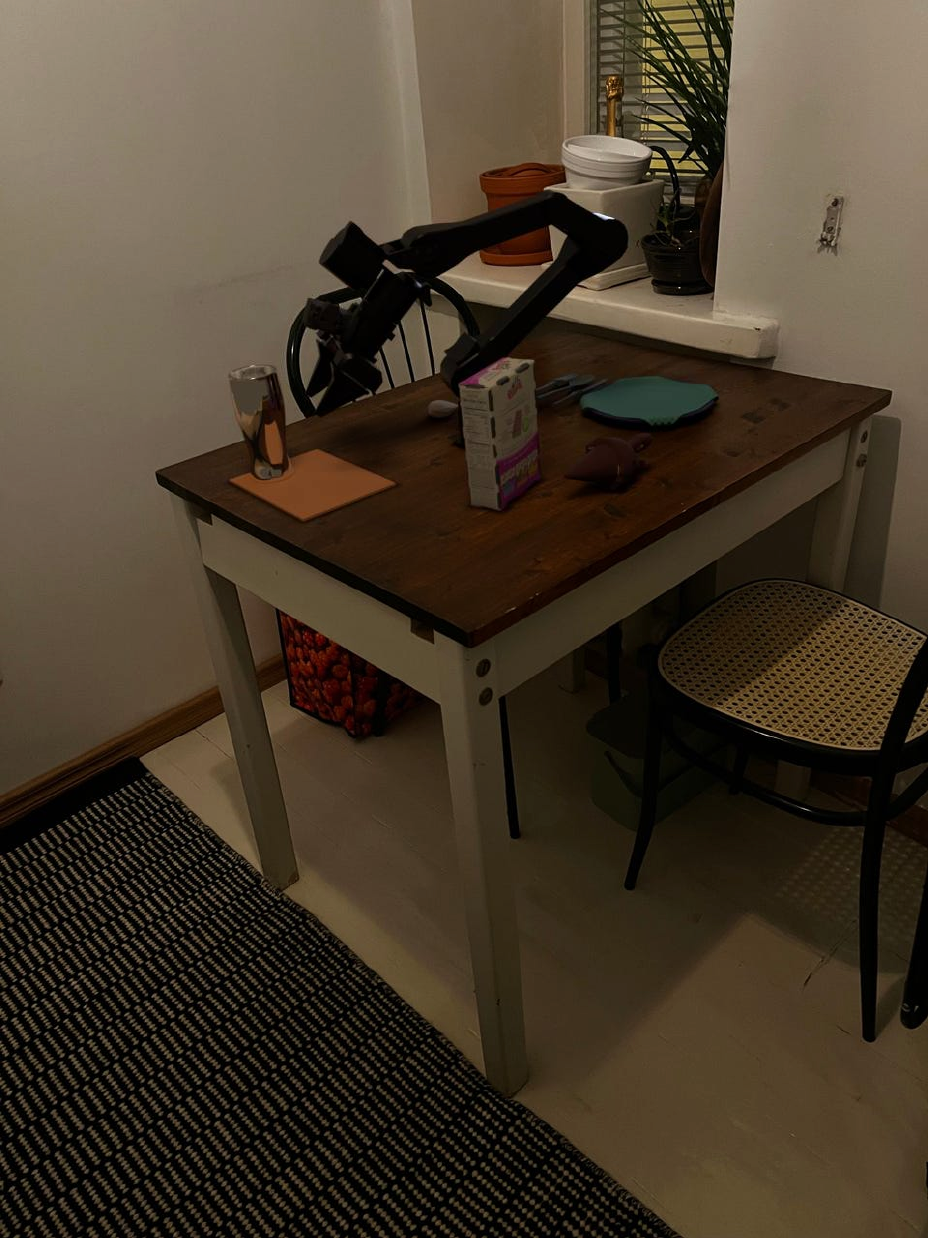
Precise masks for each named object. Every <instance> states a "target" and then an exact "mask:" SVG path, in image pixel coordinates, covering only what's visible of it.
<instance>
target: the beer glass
mask: <svg viewBox="0 0 928 1238" xmlns="http://www.w3.org/2000/svg"><path fill="white" fill-rule="evenodd" d="M228 381H229V390H230V397H231V403H232V408H233V413H234V415H235V419H236V422H237V425H238V428H239V430H240V432H241V435H242V437H243V439H244V441H245V444H246V447H247V451H248V454H249V460H250V462H249V463H250V472H251V478H252V480H254V481H256V482H259V483H273V482H278V481H282V480H284V479H287V478H289V477H290V476H291V475H292V474H293V472H294V470H293V466H292V464H291V461H290V458H291V457H290V455H289V453H288V448H287V425H286V424H287V419H286V418H287V416H286V414H287V413H286V404H285V397H284V392H283V388H282V385H281V384H282V383H281V380H280V376H279V373H278V368H277V367H276V366H274V365H272V364H253V365H252V364H251V365H246V366H245V365H244V366H241V367H238V368H236V369H235V368H234V369H233V370H231V371H230V372H229V373H228Z"/></svg>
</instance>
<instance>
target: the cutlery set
mask: <svg viewBox="0 0 928 1238" xmlns="http://www.w3.org/2000/svg"><path fill="white" fill-rule="evenodd" d="M595 378H596V376H595V375H591V374H589V375H582V376H580V374H579V373H578V374H577V373H574V372H572V373H571V374H569V375H566V376H562V377H558V378H556V377H554V378H552V381H550V382H548V383H547V384H545V385H543V386H540V387H536V395H538V394H540V393H543V392H545V391H546V390H548V389H550V388H551V387H553V386H556V387H560V386H563V385H564V384H565V385H566V383H569V386H564V387H561V388H557V389H554V390H551V391H549V392H546V393H543V394H541V395H538V396H536V400H537V403H538V402H539V403H541V402H543V401H545V400H547V399H548V398H550V397H553V396H554V395H557V394H559V393H562V392H564V391H567V390H570V389H573V388H576V391H572V392H571V393H570V394H568V395H567V396H565V397H563V398H562V399H560V400H557V401H555V402H551V403H550V404H551V405H550V406H551V408H554V409H555V407H556V406H557V405H559V404H560V403H562V402H565V401H567V400H569V399H571V398H578V397H581V398H580V400H579V407H580V409H581V412H582V413H583V415H586V413H585V411H584V409H585V408H586V409H587V410H588V411H589V412H591V413H593V414H594V415H596V416H599V417H602V418H605V419H608V420H611V421H617V422H623V423H631V424H632V423H633V424H634V423H635V424H649V425H650V426H652V427H654V428H655V427H658V426H659V427H663V426H671V425H673V424H674V423H675V422H676V421H681V420H684V419H686V420H687V419H690V418H692V417H695V416H697V415H700V414H702V413H705V412H706V411H707V410H709V409H710V408H711V407H712V406H713V405H714V403H716V402H718V401H719V400H720V396H719V395H718V393H716V390H714V388H712V387H711V386H710V385H707V384H702V383H695V382H691V381H687V380H683V379H677V378H676V379H675V378H667V377H662V376H658V375H656V376H652V375H649V376H640V377H639V376H637V377H629V378H627V377H625V378H619V379H616V380H615V381H613V382H610V383H608V378H605V379H602V380H600V381H598V382H596V383H594V384H592V385H590V384H591V383H592V382H594V380H595ZM588 385H590V386H588ZM586 386H587V387H586ZM583 387H585V388H583ZM579 388H583V389H579ZM585 393H586V394H585Z"/></svg>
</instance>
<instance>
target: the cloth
mask: <svg viewBox="0 0 928 1238" xmlns="http://www.w3.org/2000/svg"><path fill="white" fill-rule="evenodd" d="M289 458H290V461H291V464H292V466H293V470H294V472H293V474H292V475H291V476H290V477H289V478H287V479H284V480H282V481H278V482H273V483H259V482H256V481H254V480H252V478H251V471H250V472H248V473H243V474H242V475H239V476H236V477H233V478H230V479H229V480H228V481H229V483H230V484H232V485H234V486H236V487H238V488H239V489H242V490H243V491H245V492H247V493H249V494H251V495H252V496H255V497H256V498H258V499H260V500H262V501H263V502H265V503H267V504H269V505H271V506H273V507H275V508H277V509H279V510H280V511H283V512H284V513H286V514H288V515H290V516H291V517H293V518H295V519H297V520H298V521H301V522H302V523H305V522H307V521H309V520H312V519H314V518H317V517H319V516H322V515H324V514H328V513H331V512H333V511H334V510H337V509H340V508H342V507H345V506H348V505H350V504H353V503H355V502H359V501H360V500H363V499H365V498H368V497H370V496H373V495H376V494H378V493H380V492H384V491H386V490H389V489H391V488H393V487H395V486H397V482H395V481H392V480H390V479H389V478H385V477H383V476H381V475H379V474H376V473H374V472H372V471H369V470H367V469H366V468H362V467H360V466H358V465H356V464H354V463H351V462H348V461H346V460H344V459H341V458H339V457H337V456H335V455H332V454H330V453H328V452H325V451H323V450H320V449H318V448H316V449H313V450H310V451H308V452H305V453H301V454H299V455H296V456H293V457H289Z"/></svg>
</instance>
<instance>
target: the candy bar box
mask: <svg viewBox="0 0 928 1238" xmlns="http://www.w3.org/2000/svg"><path fill="white" fill-rule="evenodd" d="M535 369H536V367H535V360H534V359H527V358H517V357H515V358H513V357H511V356H510V357H509V356H507V357H506V358H502V359H500V360H498V361H497V362H495V363H493V364H492V365H490V366H488V367H486V368H485V369H483V370H481V371H480V372H478V373H476V374H475V375H473V376H471V377H470V378H468V379H466V380H465V381H463V382H461V383H460V384H458V386H459V395H460V399H459V401H460V405H461V415H462V426H463V434H464V443H465V448H464V454H465V461H466V473H467V483H468V492H469V493H468V494H469V502H470V506H472V507H475V508H479V509H485V510H486V509H487V510H493V511H499V512H501V511H504V509H506V508H507V507H508V506H509V505H510V504H512V503H513V502H514V501H516V500H517V499H518V498H519V497H521V495H523V494H524V493H525V492H527V490H529V489H530V488H531V487H533V486H534V485H535V484H536V483H537V482H539V481H540V480H542V473H541V455H540V454H541V453H540V438H539V425H538V424H539V422H538V401H537V400H536V397H537V394H536V389H537V383H536V370H535Z"/></svg>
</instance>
